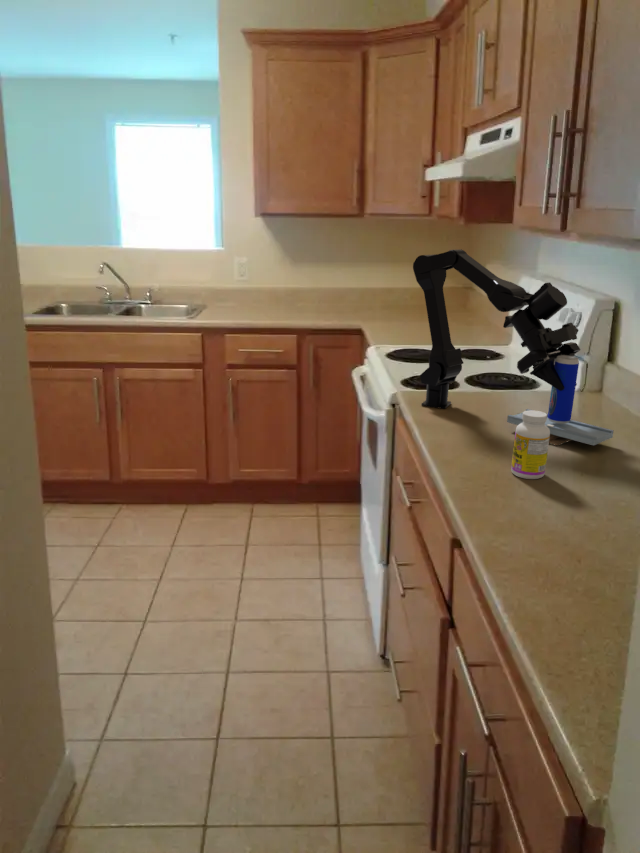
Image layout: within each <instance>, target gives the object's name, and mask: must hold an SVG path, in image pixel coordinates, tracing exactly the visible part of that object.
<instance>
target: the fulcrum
mask: <svg viewBox="0 0 640 853" xmlns="http://www.w3.org/2000/svg"><path fill="white" fill-rule="evenodd" d="M567 441H568V442H570V441H572V440H571V439H567V438H564V437H560V436H556V435H553V434H550V437H549V443H552V444H555V445H554V446H556V445H558V446H560V445H562V444H561V443H563V444H565V443H568V442H567ZM564 442H565V443H564ZM552 444H551V445H552ZM559 444H560V445H559Z"/></svg>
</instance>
